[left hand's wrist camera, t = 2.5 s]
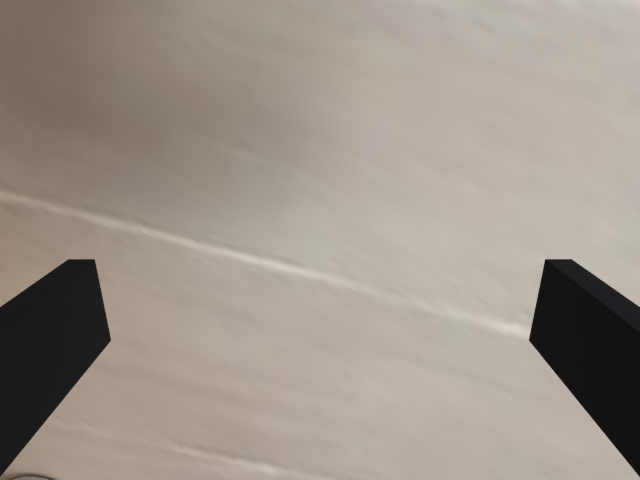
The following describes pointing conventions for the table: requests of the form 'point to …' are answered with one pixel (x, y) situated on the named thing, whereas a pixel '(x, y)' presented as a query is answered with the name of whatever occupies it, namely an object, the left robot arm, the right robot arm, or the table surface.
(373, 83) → the table surface
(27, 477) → the mug
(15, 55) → the table surface
